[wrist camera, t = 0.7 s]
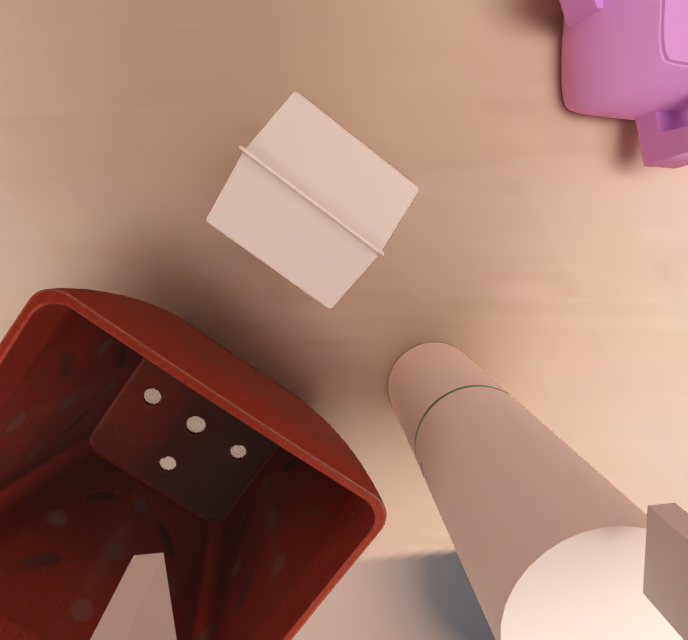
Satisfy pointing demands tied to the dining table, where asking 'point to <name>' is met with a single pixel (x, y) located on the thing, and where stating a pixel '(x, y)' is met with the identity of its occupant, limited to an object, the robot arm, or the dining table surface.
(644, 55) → the teakettle
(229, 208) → the milk
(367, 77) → the dining table surface
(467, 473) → the cylindrical container
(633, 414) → the dining table surface
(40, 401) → the plant pot
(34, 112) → the dining table surface
